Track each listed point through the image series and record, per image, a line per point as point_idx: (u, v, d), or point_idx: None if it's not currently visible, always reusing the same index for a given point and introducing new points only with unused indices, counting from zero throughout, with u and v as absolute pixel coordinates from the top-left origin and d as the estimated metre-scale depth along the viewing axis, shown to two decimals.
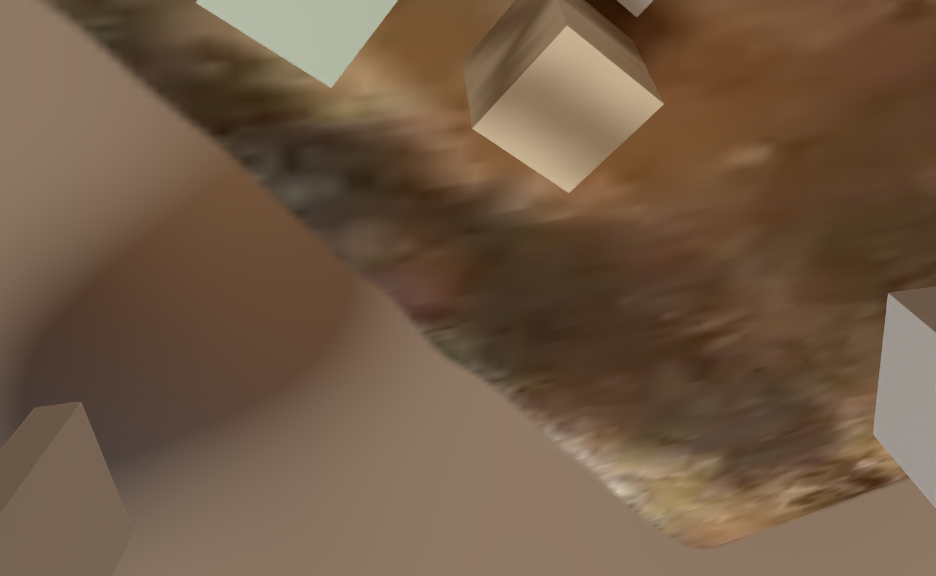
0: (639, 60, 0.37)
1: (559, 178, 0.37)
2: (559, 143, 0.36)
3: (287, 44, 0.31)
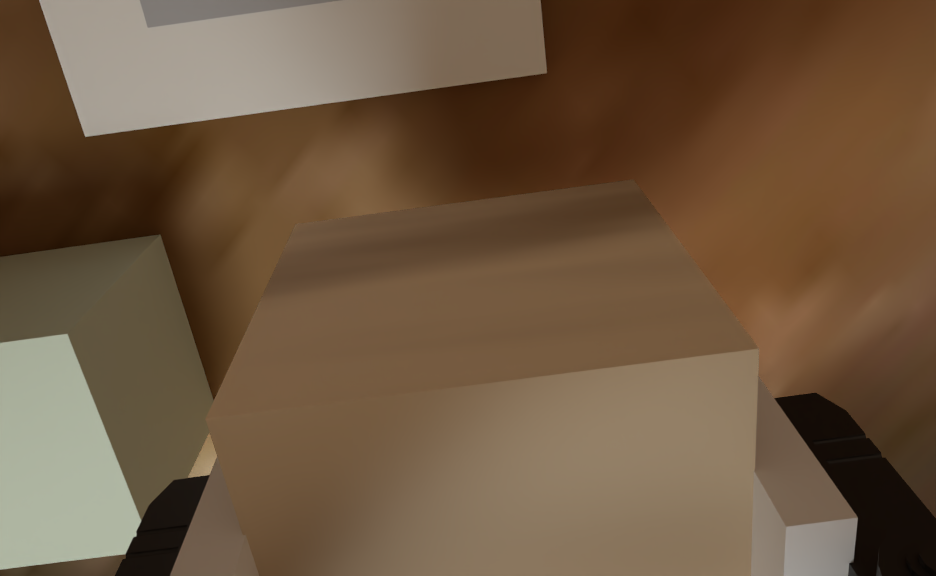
0: (644, 235, 0.12)
1: None
2: None
3: (46, 543, 0.19)
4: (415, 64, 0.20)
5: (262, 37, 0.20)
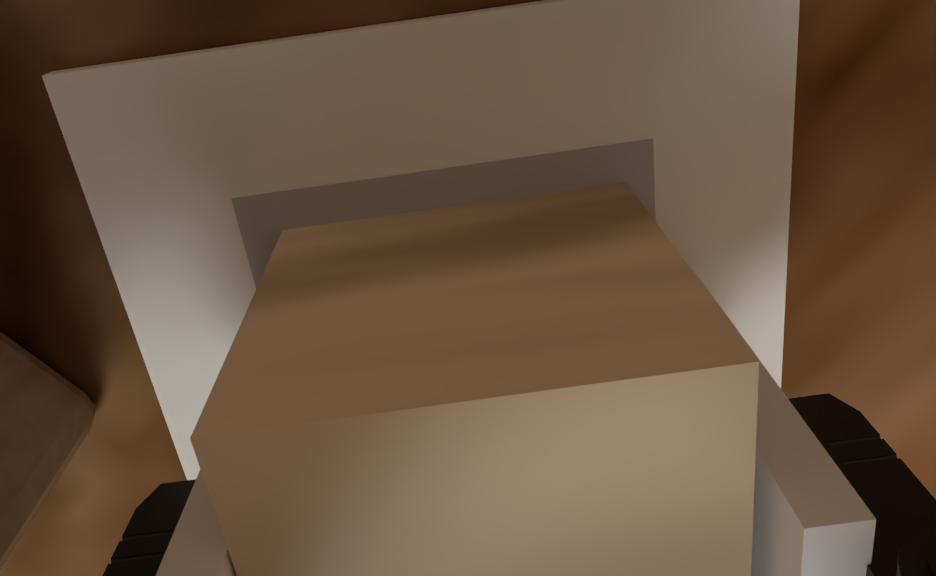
0: (639, 241, 0.11)
1: None
2: None
3: None
4: None
5: None
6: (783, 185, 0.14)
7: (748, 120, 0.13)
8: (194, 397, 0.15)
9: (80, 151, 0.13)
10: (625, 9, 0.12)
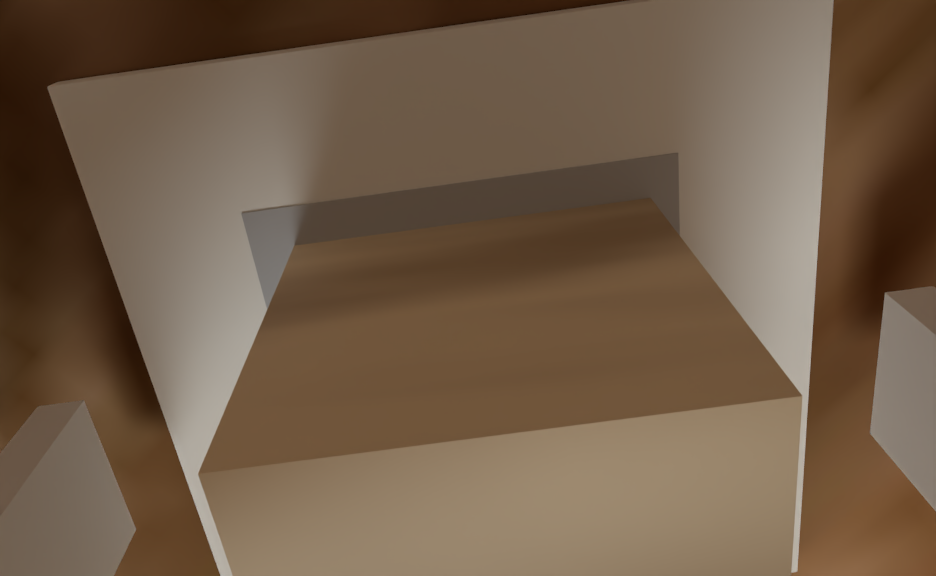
0: (667, 261, 0.11)
1: None
2: None
3: None
4: None
5: None
6: (813, 201, 0.13)
7: (777, 134, 0.13)
8: (202, 416, 0.15)
9: (86, 164, 0.13)
10: (651, 19, 0.12)
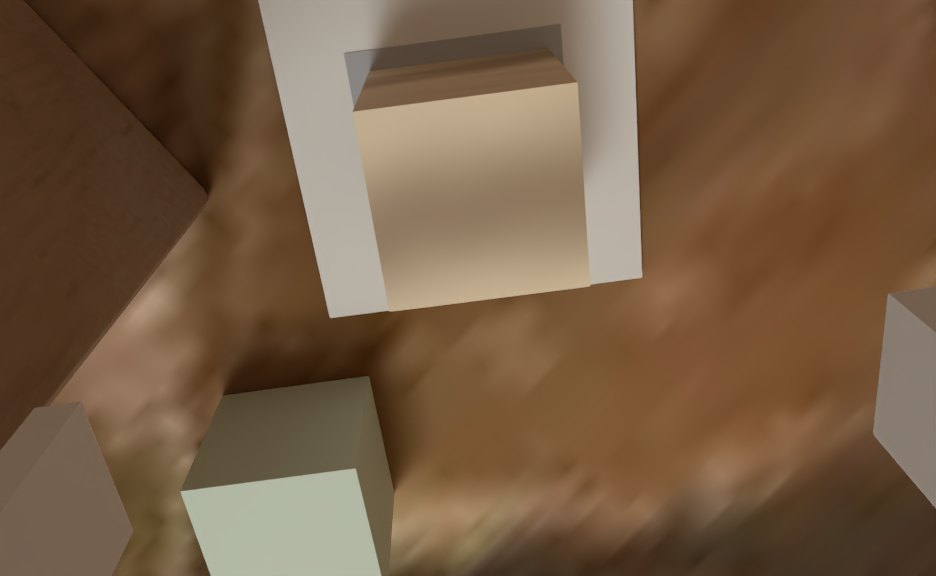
0: (545, 62, 0.24)
1: (557, 280, 0.23)
2: (507, 242, 0.23)
3: None
4: None
5: None
6: (630, 51, 0.27)
7: (609, 14, 0.26)
8: (316, 169, 0.28)
9: (269, 26, 0.26)
10: None
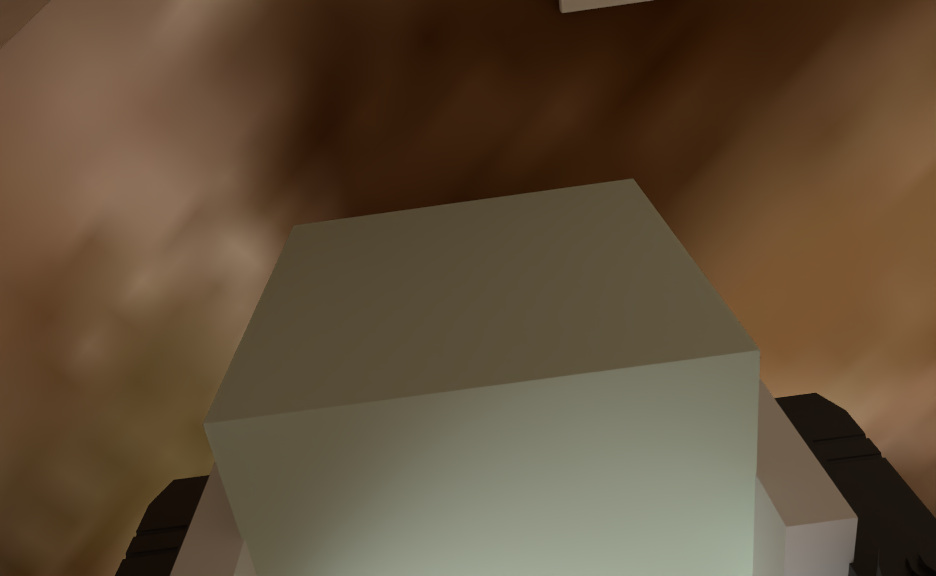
0: None
1: None
2: None
3: None
4: None
5: None
6: None
7: None
8: None
9: None
10: None
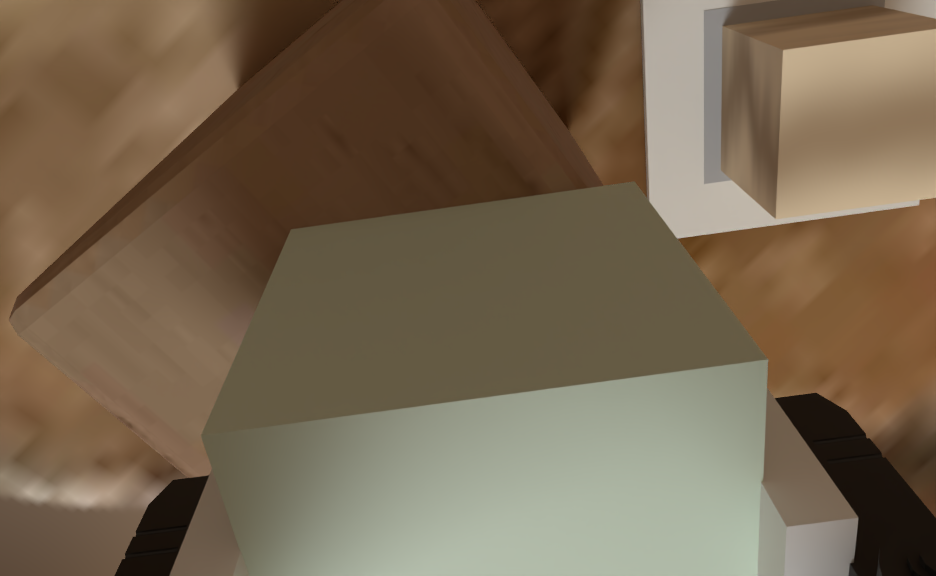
0: (896, 14, 0.29)
1: (915, 191, 0.29)
2: (882, 159, 0.28)
3: None
4: None
5: None
6: None
7: None
8: (663, 111, 0.33)
9: None
10: None
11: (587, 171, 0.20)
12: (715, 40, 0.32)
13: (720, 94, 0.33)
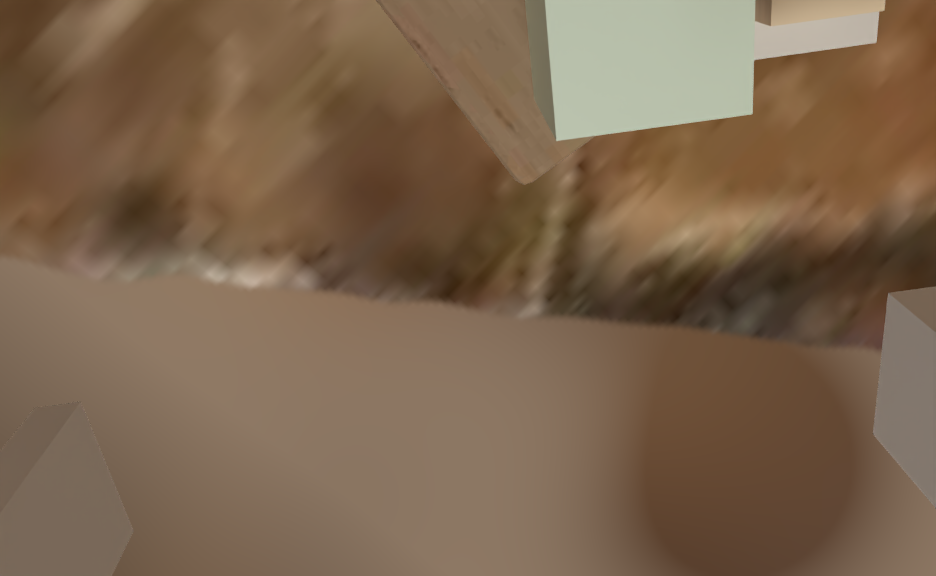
0: None
1: (866, 6, 0.42)
2: None
3: (672, 105, 0.24)
4: (823, 38, 0.48)
5: (764, 28, 0.48)
6: None
7: None
8: None
9: None
10: None
11: None
12: None
13: None
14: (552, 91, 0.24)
